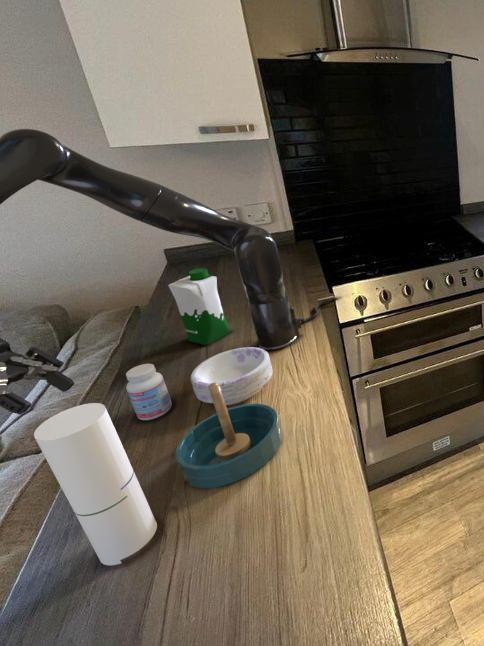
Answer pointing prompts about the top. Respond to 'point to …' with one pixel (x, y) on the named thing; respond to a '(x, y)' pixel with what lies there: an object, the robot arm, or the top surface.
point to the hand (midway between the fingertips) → (49, 398)
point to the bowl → (205, 436)
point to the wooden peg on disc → (227, 429)
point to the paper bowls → (233, 374)
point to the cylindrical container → (97, 480)
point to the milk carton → (200, 306)
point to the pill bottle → (147, 392)
